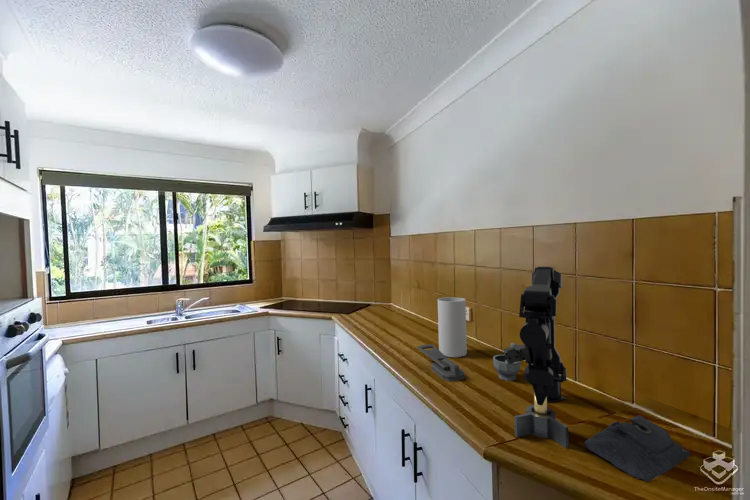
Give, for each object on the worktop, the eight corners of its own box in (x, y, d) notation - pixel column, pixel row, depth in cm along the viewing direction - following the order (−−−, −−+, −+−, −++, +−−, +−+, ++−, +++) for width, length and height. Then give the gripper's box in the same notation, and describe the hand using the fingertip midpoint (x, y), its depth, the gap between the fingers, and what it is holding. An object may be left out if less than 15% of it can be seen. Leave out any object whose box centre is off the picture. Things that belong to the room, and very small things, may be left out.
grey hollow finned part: (541, 421, 89) (540, 403, 89) (578, 445, 78) (577, 424, 78) (506, 429, 85) (506, 410, 85) (540, 455, 74) (539, 433, 74)
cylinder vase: (450, 347, 157) (448, 296, 157) (472, 353, 147) (470, 299, 147) (433, 353, 149) (431, 299, 149) (455, 360, 139) (454, 302, 139)
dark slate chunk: (571, 448, 78) (571, 428, 78) (620, 423, 88) (620, 406, 88) (648, 489, 64) (647, 465, 64) (696, 454, 74) (695, 434, 74)
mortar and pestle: (510, 384, 113) (509, 350, 113) (487, 376, 121) (486, 344, 121) (528, 377, 119) (527, 344, 119) (506, 369, 127) (505, 339, 127)
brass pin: (547, 428, 85) (546, 391, 85) (547, 434, 82) (546, 395, 82) (535, 426, 86) (534, 389, 87) (534, 431, 84) (533, 393, 84)
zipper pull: (433, 343, 143) (467, 361, 119) (433, 358, 143) (468, 378, 119) (415, 345, 140) (447, 364, 116) (415, 361, 140) (447, 382, 116)
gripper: (508, 327, 96) (510, 379, 96) (501, 343, 80) (503, 406, 80) (551, 330, 91) (552, 385, 91) (552, 349, 75) (554, 416, 75)
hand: (540, 397), depth 84 cm, fingers open, 9 cm apart
